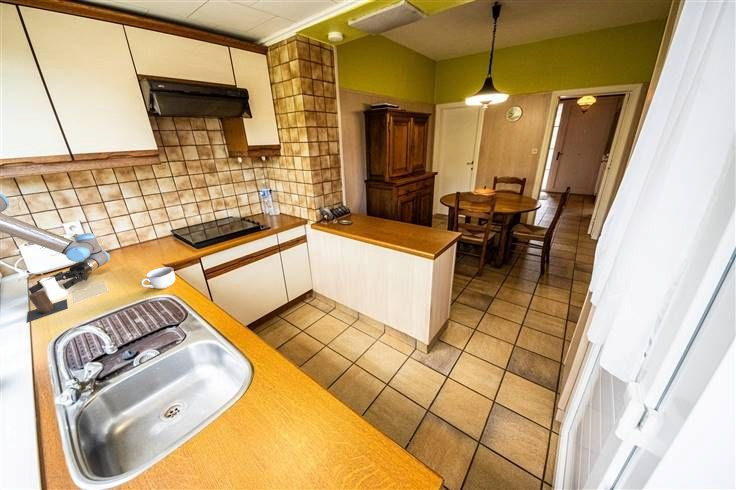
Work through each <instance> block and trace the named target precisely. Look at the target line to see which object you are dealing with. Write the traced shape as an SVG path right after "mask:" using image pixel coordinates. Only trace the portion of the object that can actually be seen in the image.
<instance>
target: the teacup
mask: <svg viewBox="0 0 736 490" xmlns="http://www.w3.org/2000/svg"><path fill="white" fill-rule="evenodd" d="M176 279H177V278H176V274H175V271H174V268H173V267H171V266H162V267H158V268H155V269H152V270H150V271H149V272H147V273H146V277H145V278H142V279H141V280H140V285H141V287H144V288H150V289H153V288H154V289H157V290H164V289H168V288H170V287H171V286H172V285H173V284H174V283H175V282H176ZM145 281H147V282H148V283H149V284H144V283H145Z"/></svg>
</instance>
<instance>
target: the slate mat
mask: <svg viewBox="0 0 736 490" xmlns="http://www.w3.org/2000/svg"><path fill="white" fill-rule="evenodd" d="M52 304H53V305H54V307H55V310H53V311H51V312H49V313H46V314H40V313H39V312H38V310H37V309H36V308H35V309H31V310H29V311H27V315H26V322H25V323H26V324H28V323H31V322H34V321H37V320H39V319H42V318H45V317H48V316H51V315H54V314H57V313H59V312H60V313H61V312H63V311H66V310H68V309H69V305H68V299H67V298H66V299H65V298H64V299H62V300H60V301H57V302H52Z"/></svg>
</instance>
